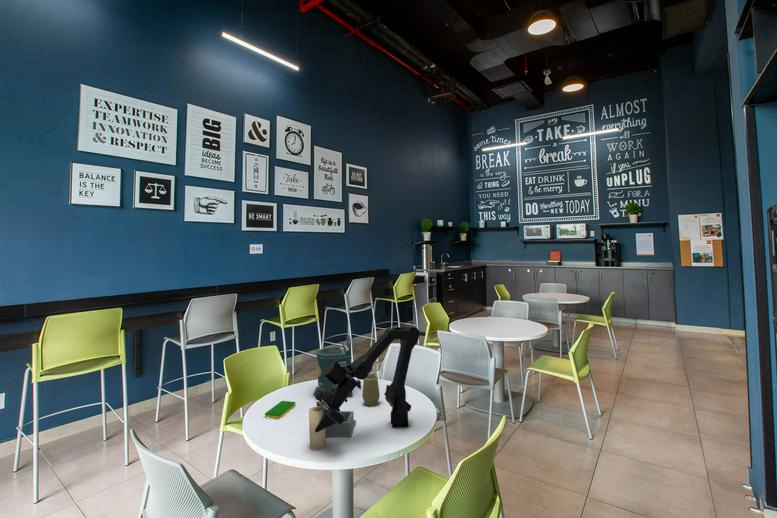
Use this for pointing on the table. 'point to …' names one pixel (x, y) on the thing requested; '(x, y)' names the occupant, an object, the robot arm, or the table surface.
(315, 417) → the paper roll
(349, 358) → the dark green canister
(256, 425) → the table surface
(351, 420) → the square tray
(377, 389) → the squeeze bottle
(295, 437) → the table surface
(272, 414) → the dish sponge
